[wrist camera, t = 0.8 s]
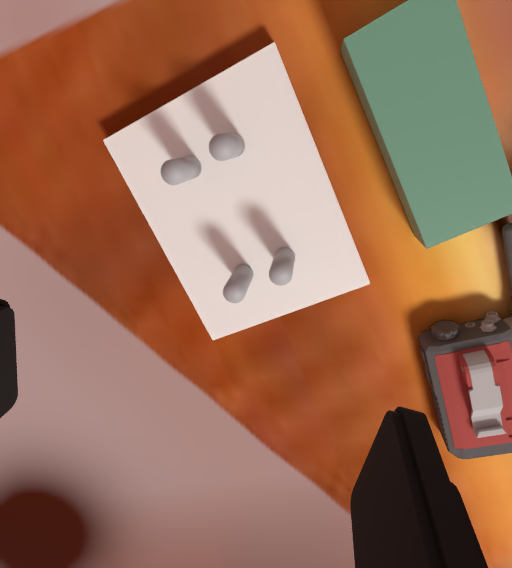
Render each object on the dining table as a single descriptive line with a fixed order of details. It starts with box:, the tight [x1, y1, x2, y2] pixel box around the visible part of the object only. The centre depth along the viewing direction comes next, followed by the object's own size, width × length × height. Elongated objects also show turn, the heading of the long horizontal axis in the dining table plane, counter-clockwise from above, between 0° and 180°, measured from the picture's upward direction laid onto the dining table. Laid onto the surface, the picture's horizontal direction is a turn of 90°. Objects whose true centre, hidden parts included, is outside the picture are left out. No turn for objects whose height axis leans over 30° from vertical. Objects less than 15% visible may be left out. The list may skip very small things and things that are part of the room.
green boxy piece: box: [340, 0, 512, 249], centre depth 26 cm, size 6×14×4 cm, turn 28°
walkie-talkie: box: [418, 223, 512, 459], centre depth 31 cm, size 9×4×20 cm
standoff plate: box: [103, 42, 370, 340], centre depth 28 cm, size 14×18×6 cm
